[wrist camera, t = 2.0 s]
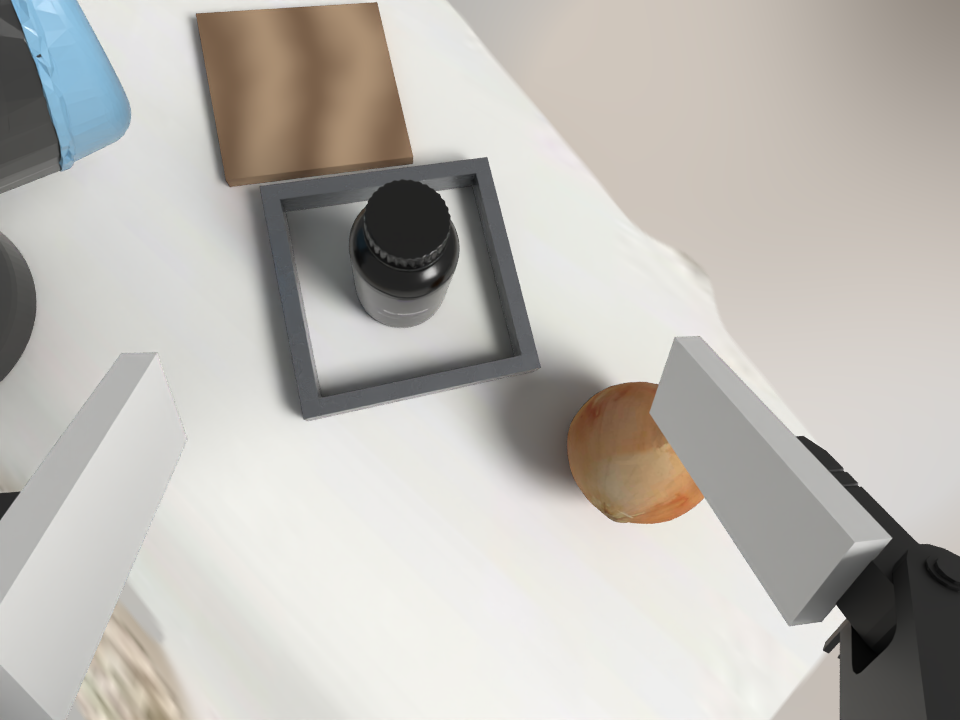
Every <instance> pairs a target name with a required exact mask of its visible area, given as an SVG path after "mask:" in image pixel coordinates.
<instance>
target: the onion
mask: <svg viewBox="0 0 960 720" xmlns="http://www.w3.org/2000/svg"><path fill="white" fill-rule="evenodd" d="M658 385H659V384H653V383H648V382H630V383H624V384H619V385H614V386H610V387H608V388H606V389H604V390H602V391H600V392H599V393H597V394H595V395H594V396H593V397H591V398H590V399H589V400H588V401H587V402H586V403H585V404H584V405H583V406H582V408H581V409H580V410H579V411H578V413H577V414H576V415H575V417H574V419H573V420H572V422H571V425H570V428H569V431H568V437H567V453H568V460H569V465H570V469H571V472H572V475H573V477H574V480H575V482H576V484H577V485H578V487H579V488H580V490H581V491H582V492H583V494H584V495H585V496H586V498H587V499H588V500H589V501H590V502H591V503H592V504H593V505H594V506H595V507H596V508H597V509H599V510H600V511H601V512H602V513H603V514H604V515H606V516H607V517H608V518H609V519H611V520H613V521H615V522H620V523H627V522H630V523H641V524H653V523H661V522H666V521H670V520H672V519H674V518H677V517H679V516H681V515H683V514H685V513H686V512H688V511H689V510H690V509H692V508H693V507H695V506H696V505H697V504H698V503H699V502H701V501H702V500H703V499H704V496H703V494H702V493H701V491H700V490H699V488H698V487H697V485H696V483H695V482H694V480H693V479H692V477H691V476H690V474H689V473H688V471H687V470H686V468H685V467H684V465H683V464H682V462H681V461H680V459H679V458H678V456H677V454H676V453H675V451H674V450H673V448H672V447H671V445H670V444H669V442H668V441H667V439H666V438H665V436H664V435H663V433H662V432H661V430H660V428H659V427H658V425H657V424H656V422H655V421H654V419H653V418H652V416H651V415H650V413H649V412H650V409H651V406H652V403H653V400H654V397H655V394H656V391H657V388H658Z"/></svg>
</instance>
